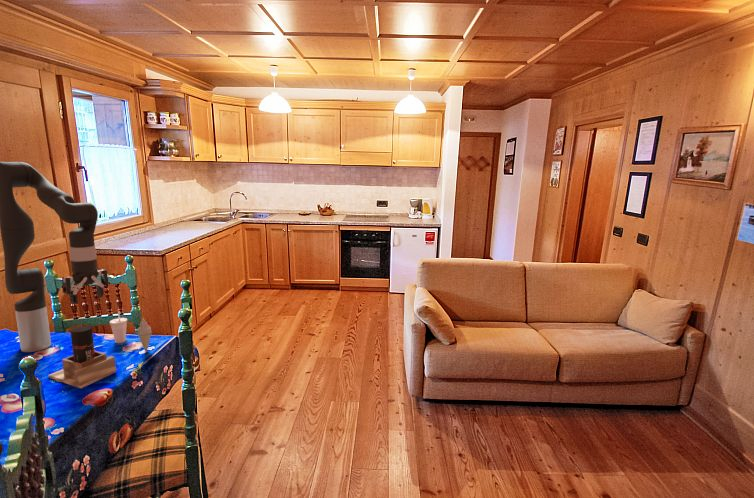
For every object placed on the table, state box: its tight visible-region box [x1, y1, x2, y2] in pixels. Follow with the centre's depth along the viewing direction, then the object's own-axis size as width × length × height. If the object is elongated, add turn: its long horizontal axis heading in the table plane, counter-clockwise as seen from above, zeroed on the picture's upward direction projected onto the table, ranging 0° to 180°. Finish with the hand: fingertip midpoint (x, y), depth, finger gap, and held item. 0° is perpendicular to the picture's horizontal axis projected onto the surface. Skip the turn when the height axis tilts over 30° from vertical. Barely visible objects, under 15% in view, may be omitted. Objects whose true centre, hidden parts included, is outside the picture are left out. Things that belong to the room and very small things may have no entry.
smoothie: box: [109, 310, 128, 344], centre depth 160 cm, size 6×6×14 cm
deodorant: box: [70, 325, 95, 363], centre depth 131 cm, size 6×6×15 cm
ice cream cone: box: [136, 317, 153, 352], centre depth 152 cm, size 5×5×15 cm
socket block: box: [61, 349, 108, 380], centre depth 132 cm, size 9×9×6 cm
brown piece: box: [48, 355, 117, 389], centre depth 133 cm, size 17×12×6 cm
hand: (87, 300), depth 137 cm, fingers open, 8 cm apart
